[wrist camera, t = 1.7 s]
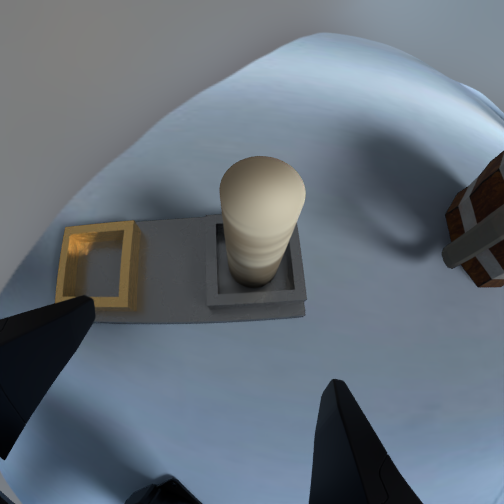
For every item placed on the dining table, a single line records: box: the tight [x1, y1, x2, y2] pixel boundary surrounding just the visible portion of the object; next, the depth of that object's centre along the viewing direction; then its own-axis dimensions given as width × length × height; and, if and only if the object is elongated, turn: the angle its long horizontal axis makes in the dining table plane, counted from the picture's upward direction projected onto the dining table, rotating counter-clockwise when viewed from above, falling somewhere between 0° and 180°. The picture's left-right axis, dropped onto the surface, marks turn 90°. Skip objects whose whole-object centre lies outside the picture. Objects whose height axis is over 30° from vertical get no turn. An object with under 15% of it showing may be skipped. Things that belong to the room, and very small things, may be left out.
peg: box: [220, 156, 306, 288], centre depth 18 cm, size 4×4×11 cm
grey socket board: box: [55, 214, 307, 324], centre depth 23 cm, size 21×9×3 cm, turn 94°
